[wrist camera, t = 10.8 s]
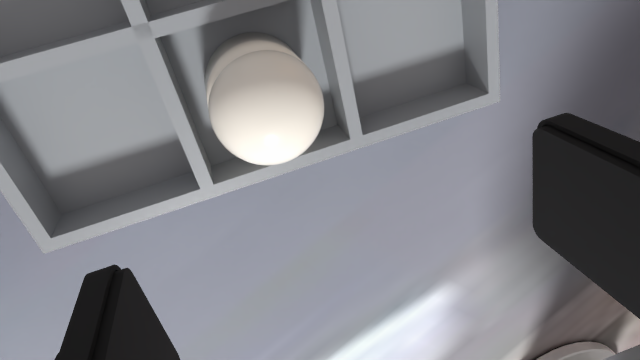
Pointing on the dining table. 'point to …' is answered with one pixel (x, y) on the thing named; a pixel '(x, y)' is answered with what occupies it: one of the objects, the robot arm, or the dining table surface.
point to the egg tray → (191, 102)
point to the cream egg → (262, 99)
